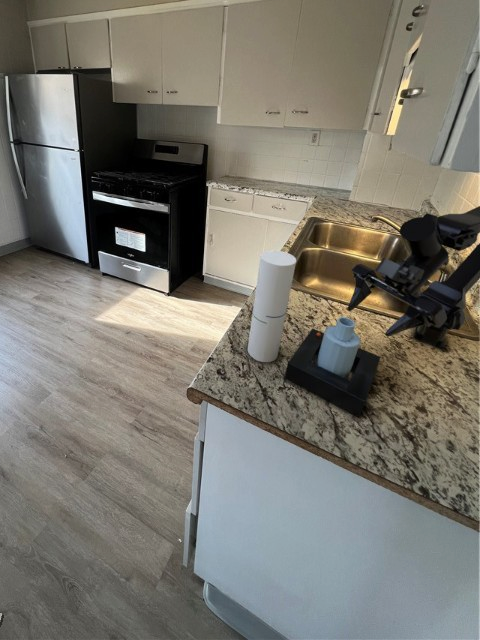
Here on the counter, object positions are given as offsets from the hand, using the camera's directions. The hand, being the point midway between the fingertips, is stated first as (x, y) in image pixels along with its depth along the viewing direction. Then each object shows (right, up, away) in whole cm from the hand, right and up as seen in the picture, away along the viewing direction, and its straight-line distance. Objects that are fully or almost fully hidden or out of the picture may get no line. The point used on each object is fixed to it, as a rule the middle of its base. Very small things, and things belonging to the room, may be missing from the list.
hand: (366, 322), depth 66 cm
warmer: (-6, -12, +3) cm, 14 cm away
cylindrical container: (-20, -9, +9) cm, 24 cm away
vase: (-6, -12, +3) cm, 14 cm away
